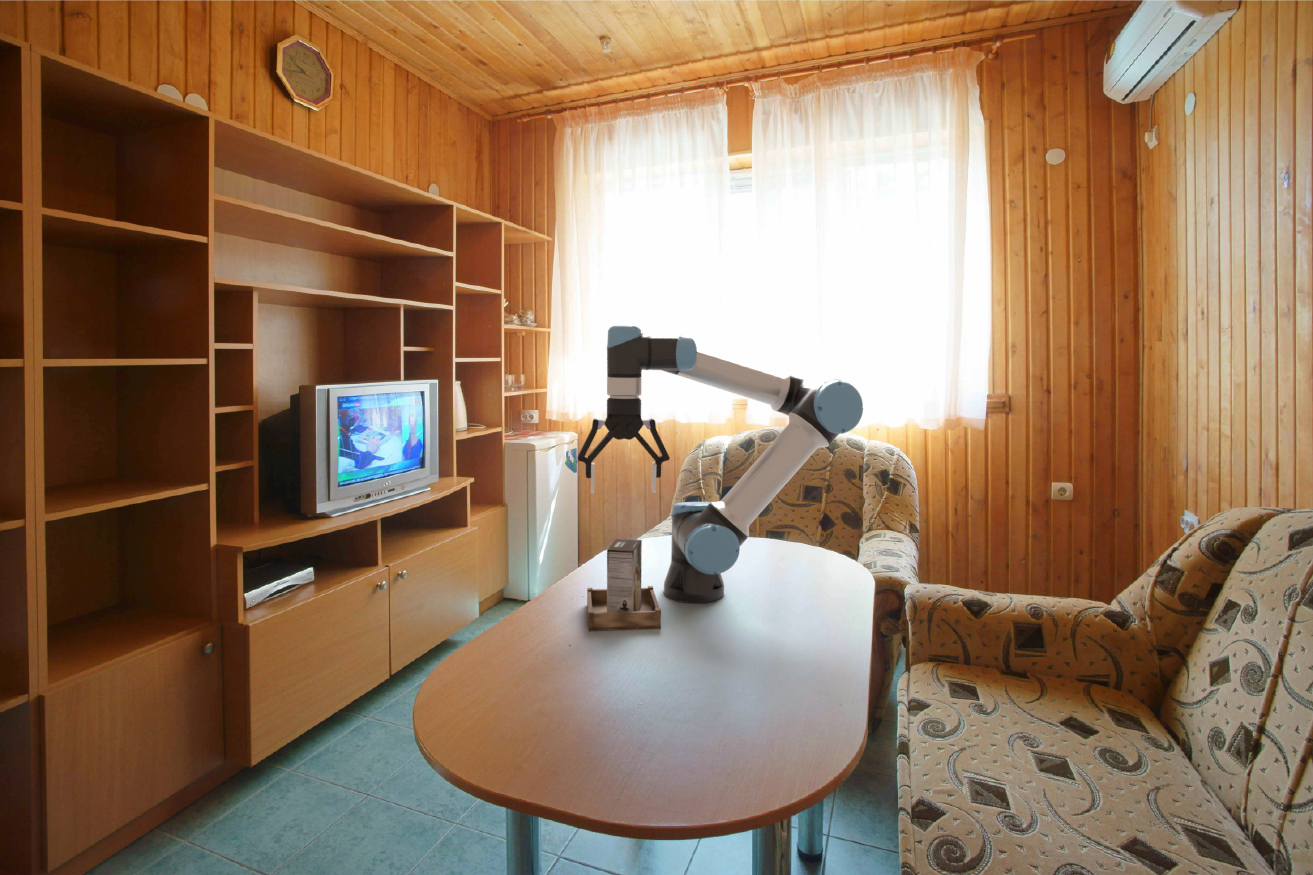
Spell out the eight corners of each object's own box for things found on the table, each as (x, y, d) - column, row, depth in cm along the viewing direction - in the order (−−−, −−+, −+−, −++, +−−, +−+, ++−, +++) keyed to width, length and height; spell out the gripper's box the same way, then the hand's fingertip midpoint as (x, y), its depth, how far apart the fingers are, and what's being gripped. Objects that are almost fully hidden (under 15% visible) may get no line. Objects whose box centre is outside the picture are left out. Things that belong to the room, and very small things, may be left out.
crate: (652, 602, 163) (652, 585, 163) (660, 628, 148) (660, 609, 147) (587, 604, 161) (587, 587, 161) (588, 631, 146) (588, 612, 145)
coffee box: (614, 604, 160) (615, 538, 158) (641, 606, 159) (642, 539, 157) (606, 619, 151) (606, 548, 149) (634, 621, 150) (635, 550, 148)
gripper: (677, 396, 154) (676, 488, 156) (566, 395, 151) (567, 489, 153) (683, 398, 147) (681, 495, 149) (566, 397, 144) (566, 496, 146)
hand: (623, 492), depth 151 cm, fingers open, 13 cm apart
